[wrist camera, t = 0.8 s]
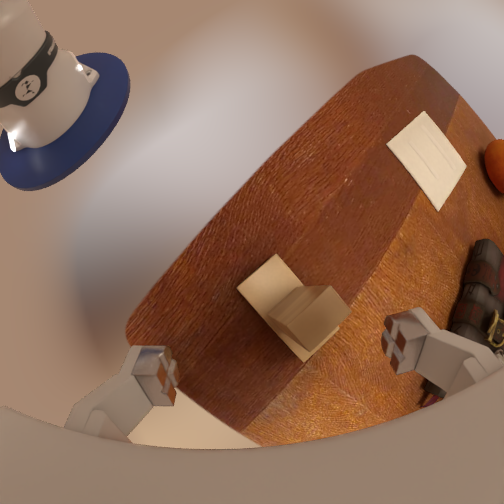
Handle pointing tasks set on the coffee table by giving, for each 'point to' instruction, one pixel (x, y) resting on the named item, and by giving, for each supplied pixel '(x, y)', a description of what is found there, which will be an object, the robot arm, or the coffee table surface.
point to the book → (480, 305)
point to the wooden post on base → (294, 307)
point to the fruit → (495, 163)
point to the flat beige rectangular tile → (428, 158)
